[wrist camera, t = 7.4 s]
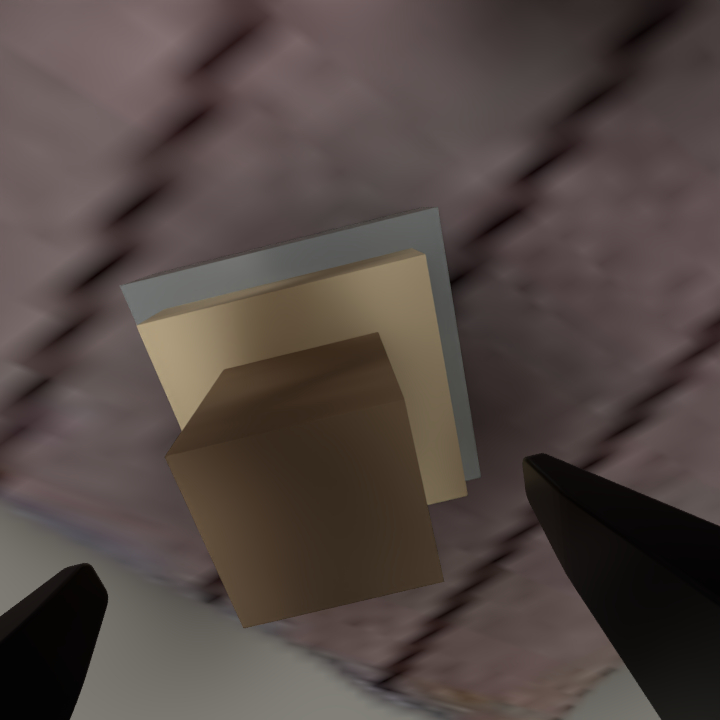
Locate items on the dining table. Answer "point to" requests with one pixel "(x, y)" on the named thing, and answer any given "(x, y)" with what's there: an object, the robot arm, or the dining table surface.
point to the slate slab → (321, 254)
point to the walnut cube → (308, 482)
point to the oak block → (316, 328)
